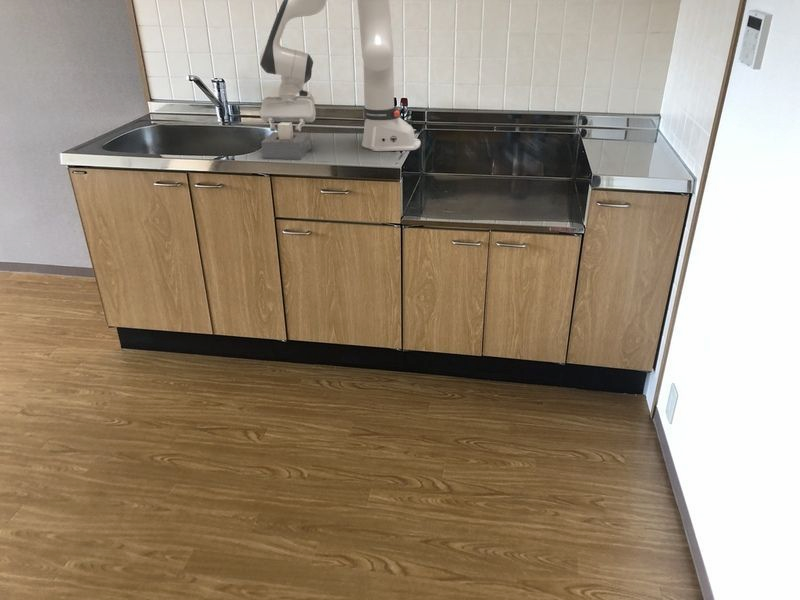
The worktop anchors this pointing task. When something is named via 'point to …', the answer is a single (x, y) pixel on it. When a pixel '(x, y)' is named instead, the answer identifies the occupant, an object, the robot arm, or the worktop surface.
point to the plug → (285, 131)
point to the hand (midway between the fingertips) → (285, 130)
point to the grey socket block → (286, 146)
